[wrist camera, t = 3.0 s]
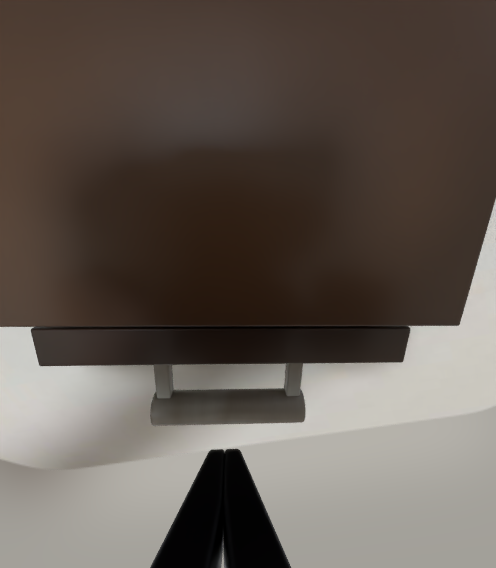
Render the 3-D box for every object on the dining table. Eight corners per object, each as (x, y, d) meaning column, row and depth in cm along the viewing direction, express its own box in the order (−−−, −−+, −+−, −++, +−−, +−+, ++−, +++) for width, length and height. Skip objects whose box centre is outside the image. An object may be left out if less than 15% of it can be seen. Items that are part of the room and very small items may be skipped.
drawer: (317, 360, 17) (378, 474, 10) (140, 361, 16) (67, 485, 9) (357, 17, 11) (549, -272, 4) (99, 0, 11) (-143, -365, 4)
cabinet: (333, 257, 16) (459, 326, 7) (123, 254, 15) (-32, 327, 6) (370, -48, 12) (789, -816, 3) (85, -71, 11) (-515, -1182, 2)
